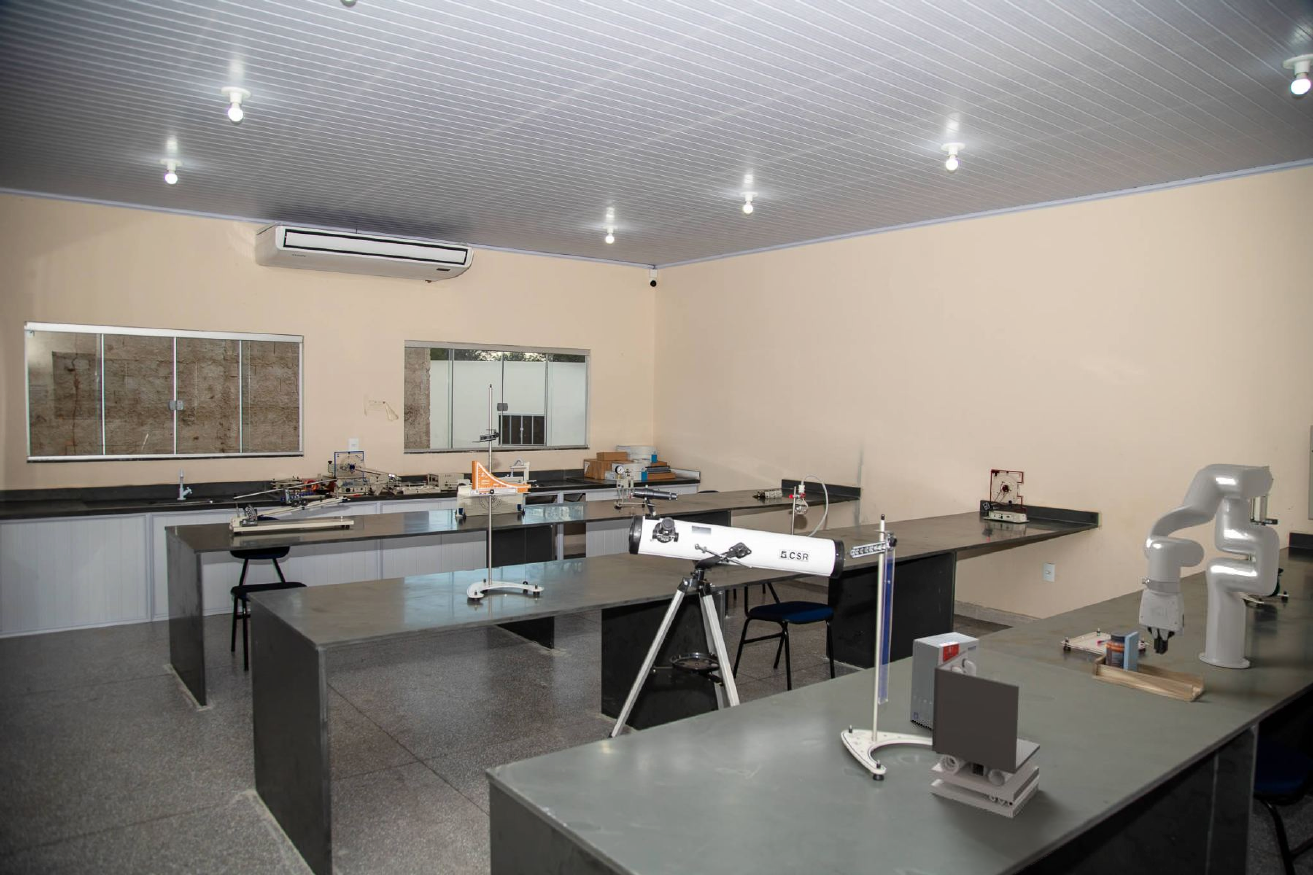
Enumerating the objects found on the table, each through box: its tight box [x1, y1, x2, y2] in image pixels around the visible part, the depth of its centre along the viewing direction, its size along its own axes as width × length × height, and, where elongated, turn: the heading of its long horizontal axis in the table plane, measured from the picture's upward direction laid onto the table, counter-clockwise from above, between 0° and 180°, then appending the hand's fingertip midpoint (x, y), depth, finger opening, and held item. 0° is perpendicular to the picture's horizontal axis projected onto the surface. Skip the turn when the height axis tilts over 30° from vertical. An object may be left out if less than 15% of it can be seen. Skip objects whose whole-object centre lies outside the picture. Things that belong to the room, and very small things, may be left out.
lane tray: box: [1091, 653, 1205, 703], centre depth 232 cm, size 13×24×5 cm, turn 43°
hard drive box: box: [909, 631, 980, 730], centre depth 204 cm, size 16×8×20 cm, turn 122°
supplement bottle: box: [1105, 631, 1128, 669], centre depth 237 cm, size 6×6×11 cm
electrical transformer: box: [930, 651, 1041, 818], centre depth 168 cm, size 16×19×25 cm
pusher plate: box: [1124, 631, 1140, 672], centre depth 235 cm, size 8×1×12 cm, turn 133°
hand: (1160, 652), depth 229 cm, fingers closed
